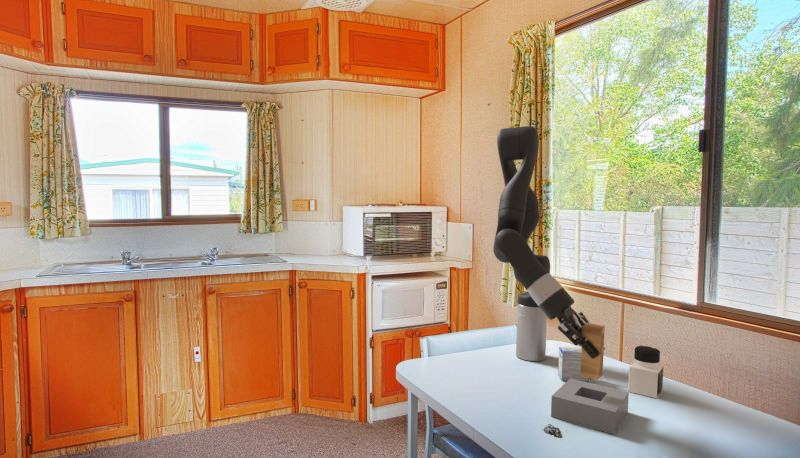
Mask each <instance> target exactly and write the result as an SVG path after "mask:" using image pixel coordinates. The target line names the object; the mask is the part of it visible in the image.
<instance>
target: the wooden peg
mask: <svg viewBox="0 0 800 458" xmlns="http://www.w3.org/2000/svg"><path fill="white" fill-rule="evenodd" d="M583 330H584V331H583V333H584V334H585V335H586V336H587V338H588V339H589V340H590V342H591V343H592V344H593V345H594V346H595V348H596V349H597V350H598V351H599V352H600V354H599V355H598V356H597V357H595V358H594V359H592V358H591V357H590V356H589V355H588V353H587V352H586V351H585V350H584V349H583V347H582V346H581V348H582V353H581V374H580V376H582V377H587V378H590V380H591V379H593V380H596V381H597V380H600V379H601V378H602V377H603V374H604V373H603V371H604V370H603V369H604V352H605V350H604V348H605V334H606V333H605V332H606V331H605V330H606V325H603V324H597V323H591V322H589V323H586V324H585V325H583ZM589 340H588V341H589Z"/></svg>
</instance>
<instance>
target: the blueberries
mask: <svg viewBox="0 0 800 458" xmlns="http://www.w3.org/2000/svg"><path fill="white" fill-rule="evenodd" d="M542 431H543V432H544V433H545V434H547V435H549V434H550V436H552V435H554V436H553V437H554V438H557V437H558V438H560V439H561V438H562V435H561V430H560V428H559V427H557V426H556V427H555V426H554V425H552V424H551V423H549V424H547V425H546V426H544V427H543V428H542ZM566 431H567V430H565V432H566Z"/></svg>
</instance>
